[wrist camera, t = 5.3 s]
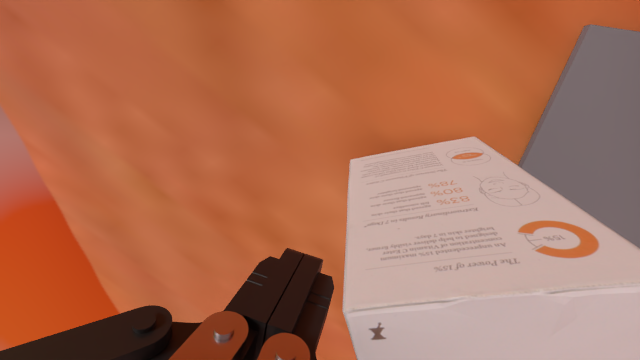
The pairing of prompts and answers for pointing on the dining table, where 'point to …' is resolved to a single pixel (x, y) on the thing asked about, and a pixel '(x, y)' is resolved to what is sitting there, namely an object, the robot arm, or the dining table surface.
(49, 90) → the dining table surface
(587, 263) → the small box
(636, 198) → the slate mat
